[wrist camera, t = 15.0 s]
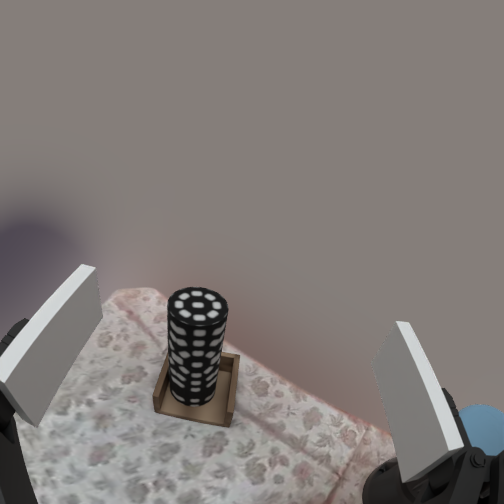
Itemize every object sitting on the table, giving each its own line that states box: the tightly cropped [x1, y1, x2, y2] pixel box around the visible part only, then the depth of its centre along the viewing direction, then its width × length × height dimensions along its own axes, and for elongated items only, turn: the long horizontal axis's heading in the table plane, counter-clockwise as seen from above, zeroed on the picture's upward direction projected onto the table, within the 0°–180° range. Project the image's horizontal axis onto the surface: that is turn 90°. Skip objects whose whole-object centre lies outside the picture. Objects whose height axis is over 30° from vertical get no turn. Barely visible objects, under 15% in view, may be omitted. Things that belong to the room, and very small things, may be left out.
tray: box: [152, 352, 240, 427], centre depth 47 cm, size 13×13×6 cm
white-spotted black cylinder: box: [167, 287, 228, 407], centre depth 43 cm, size 8×8×20 cm
